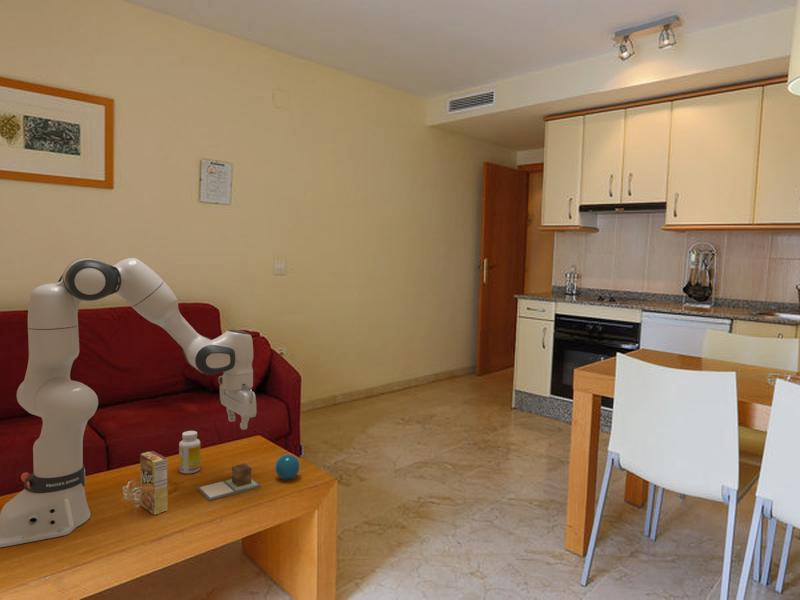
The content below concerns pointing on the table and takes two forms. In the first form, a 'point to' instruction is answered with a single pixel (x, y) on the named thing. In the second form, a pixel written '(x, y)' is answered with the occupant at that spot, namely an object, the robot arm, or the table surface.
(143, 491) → the candy box
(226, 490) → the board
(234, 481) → the walnut token
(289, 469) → the ball
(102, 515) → the table surface
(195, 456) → the supplement bottle
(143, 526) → the table surface
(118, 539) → the table surface
